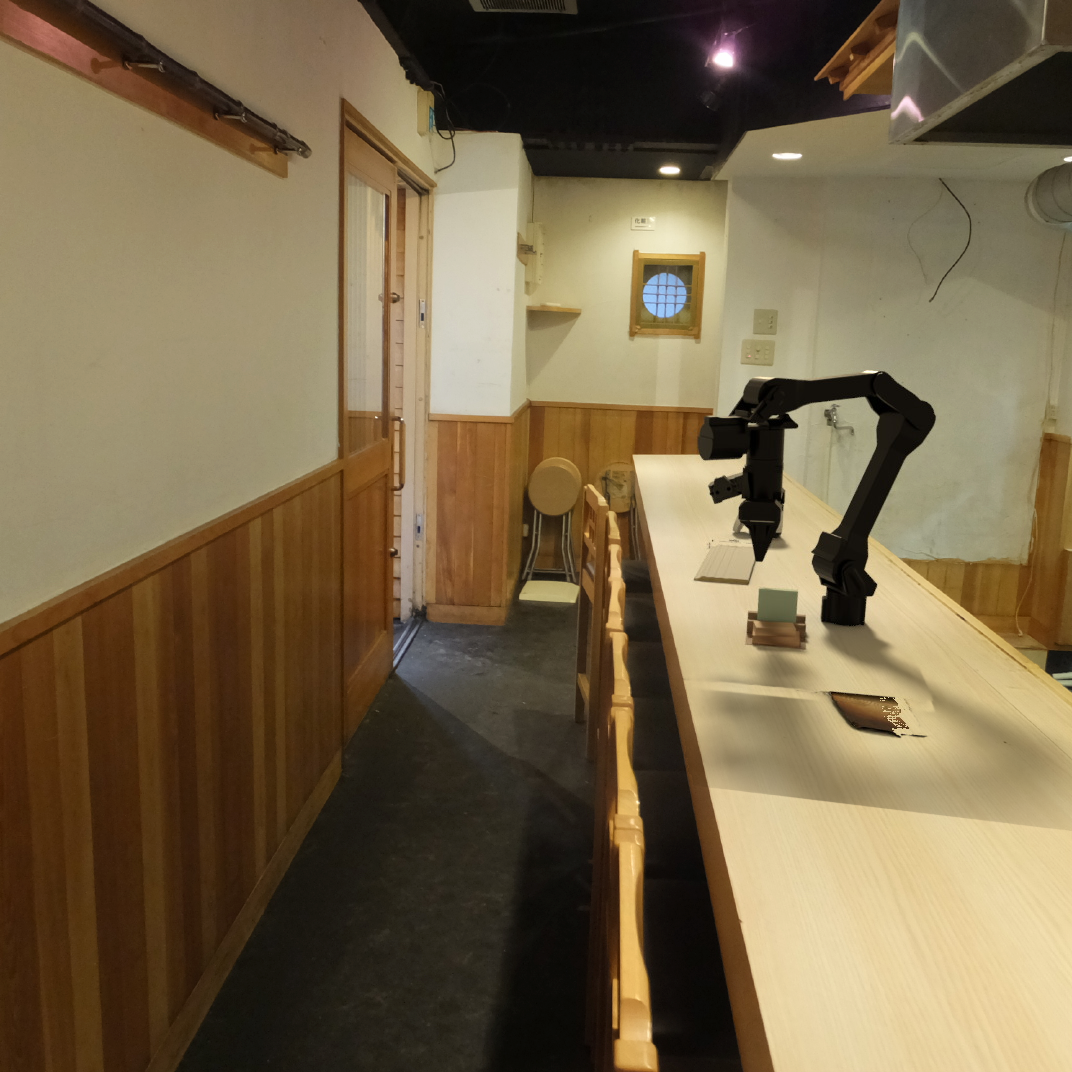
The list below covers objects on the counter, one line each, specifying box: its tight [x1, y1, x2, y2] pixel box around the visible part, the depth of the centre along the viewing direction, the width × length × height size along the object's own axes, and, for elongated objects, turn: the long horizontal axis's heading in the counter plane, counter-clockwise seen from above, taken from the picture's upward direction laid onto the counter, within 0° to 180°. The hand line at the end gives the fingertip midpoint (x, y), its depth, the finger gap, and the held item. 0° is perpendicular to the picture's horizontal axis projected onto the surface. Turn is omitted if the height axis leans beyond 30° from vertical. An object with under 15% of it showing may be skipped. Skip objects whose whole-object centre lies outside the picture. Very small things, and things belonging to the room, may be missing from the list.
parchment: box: [829, 690, 911, 733], centre depth 126 cm, size 25×10×1 cm, turn 171°
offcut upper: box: [753, 621, 796, 637], centre depth 146 cm, size 6×3×1 cm, turn 84°
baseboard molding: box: [693, 539, 756, 585], centre depth 201 cm, size 31×3×12 cm
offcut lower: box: [752, 630, 800, 647], centre depth 146 cm, size 7×4×1 cm, turn 76°
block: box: [757, 586, 799, 623], centre depth 150 cm, size 6×1×7 cm, turn 76°
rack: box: [744, 610, 807, 650], centre depth 148 cm, size 9×10×4 cm
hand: (760, 555), depth 151 cm, fingers open, 9 cm apart
